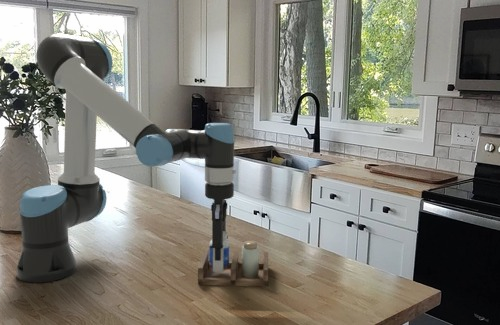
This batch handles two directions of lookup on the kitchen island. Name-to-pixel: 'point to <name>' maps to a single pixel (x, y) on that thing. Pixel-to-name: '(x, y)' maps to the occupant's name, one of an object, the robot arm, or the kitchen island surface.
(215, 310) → the kitchen island surface
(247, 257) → the jar
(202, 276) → the rack
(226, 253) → the pill bottle
